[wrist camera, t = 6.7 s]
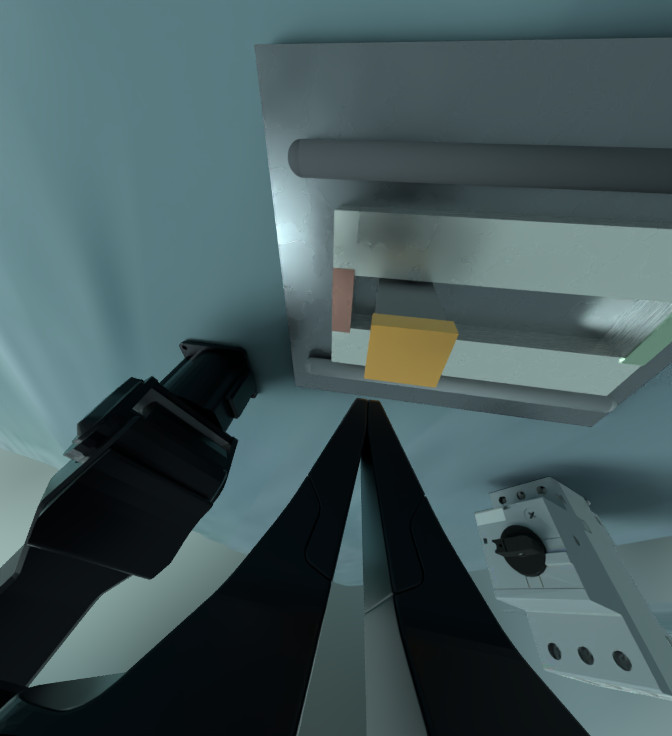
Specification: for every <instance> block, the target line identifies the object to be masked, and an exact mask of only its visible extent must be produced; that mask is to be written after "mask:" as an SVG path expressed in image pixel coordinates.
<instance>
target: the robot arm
mask: <svg viewBox="0 0 672 736" xmlns="http://www.w3.org/2000/svg"><path fill="white" fill-rule="evenodd" d="M179 346H180V349H181V351H182V353H183V355H184V357H185V359H184V360H183V361H182V362H181V363H180V364H178V365H177V366H176V367H175V368H174V369H173V370H172V371H171V372H170V373H169V374H168V375H167V376H166V377H165V378H164V379H163V380H162V381H161V382H160V383H159V382H158V380H157V379H155V378H154V377H153V376H151V377H150V378H148V379H146V380H145V381H143V380H142V379H141V380H140V379H136V378H133V377H131V378H129V379H128V380H127V381H126V382H124V383H123V384H122V385H121V386H119V387H118V388H117V389H116V390H115V391H114V392H112V393H111V394H110V395H109V396H108V397H106V398H105V399H104V400H103V401H102V402H101V403H100V404H99V405H97V406H96V407H95V408H94V409H93V410H92V411H91V412H90V413H89V414H88V415H86V416H85V417H84V418H83V419H82V420H81V421H80V422H79V423H78V424H77V436H76V437H75V438H74V439H73V441H72V442H73V444H72V445H71V446H70V447H69V448H68V449H67V450H66V451H65V452H64V454H63V455H64V456H66V457H68V458H70V459H72V460H70V461H69V462H68V463H67V464H66V465H65V466H64V467H63V468H62V469H61V470H59V471H58V472H57V473H56V474H55V475H54V476H53V477H52V478H51V480H50V482H49V484H48V486H47V488H46V490H45V493H44V494H43V497H42V499H41V501H40V504H39V506H38V508H37V511H36V513H35V516H34V519H33V522H32V524H31V527H30V530H29V533H28V536H27V538H26V541H25V544H24V545H23V546H22V547H21V548H20V549H19V550H18V551H17V552H16V553H15V554H14V555H13V556H12V557H11V558H10V559H9V560H8V561H7V562H6V563H5V564H4V565H3V566H2V567H1V568H0V736H298V734H299V729H300V725H301V720H302V715H303V710H304V706H305V702H306V697H307V692H308V689H309V684H310V680H311V675H312V671H313V666H314V662H315V658H316V653H317V649H318V644H319V640H320V635H321V631H322V626H323V622H324V618H325V613H326V609H327V604H328V600H329V596H330V591H331V587H332V582H333V578H334V574H335V569H336V565H337V560H338V556H339V552H340V547H341V543H342V538H343V534H344V529H345V525H346V521H347V516H348V512H349V507H350V503H351V498H352V494H353V490H354V485H355V481H356V476H357V472H358V467H359V463H360V458H361V503H362V546H363V587H364V614H365V615H364V631H365V632H364V633H365V673H366V674H365V675H366V719H367V736H590V735H589V733H587V731H586V730H585V729H584V728H583V727H582V725H581V724H580V723H579V722H578V721H577V720H576V719H575V717H574V716H573V715H572V714H571V713H570V712H569V711H568V709H567V708H566V707H565V706H564V705H563V704H562V703H561V701H560V700H559V699H558V698H557V697H556V696H555V694H554V693H553V692H552V691H551V690H550V689H549V687H548V686H547V685H546V684H545V683H544V682H543V681H542V679H541V678H540V677H539V676H538V675H537V674H536V672H535V671H534V670H533V669H532V668H531V667H530V665H529V664H528V663H527V662H526V660H524V658H523V657H522V656H521V654H520V653H519V652H518V650H517V649H516V648H515V646H514V645H513V644H512V642H511V641H510V639H509V638H508V636H507V635H506V633H505V632H504V631H503V629H502V628H501V626H500V624H499V623H498V621H497V620H496V618H495V616H494V615H493V613H492V611H491V610H490V608H489V606H488V605H487V603H486V601H485V600H484V598H483V597H482V595H481V593H480V592H479V590H478V588H477V587H476V585H475V583H474V582H473V580H472V578H471V577H470V575H469V573H468V572H467V570H466V568H465V567H464V565H463V563H462V562H461V560H460V558H459V557H458V555H457V553H456V552H455V550H454V548H453V546H452V545H451V543H450V541H449V539H448V538H447V536H446V534H445V533H444V531H443V529H442V527H441V525H440V523H439V521H438V519H437V517H436V515H435V513H434V511H433V509H432V507H431V505H430V503H429V501H428V499H427V497H426V496H424V495H425V493H424V491H423V489H422V487H421V485H420V483H419V481H418V479H417V477H416V475H415V473H414V470H413V468H412V466H411V464H410V462H409V460H408V458H407V456H406V454H405V452H404V450H403V448H402V446H401V444H400V442H399V440H398V437H397V435H396V433H395V431H394V429H393V427H392V425H391V423H390V421H389V419H388V417H387V415H386V413H385V411H384V409H383V407H382V404H381V403H380V402H379V401H376V400H367V399H362V398H356V399H355V401H354V402H353V404H352V406H351V407H350V409H349V410H348V412H347V414H346V415H345V417H344V418H343V420H342V421H341V423H340V425H339V426H338V428H337V429H336V431H335V433H334V434H333V436H332V437H331V439H330V440H329V442H328V444H327V445H326V447H325V448H324V450H323V452H322V453H321V455H320V456H319V458H318V459H317V461H316V463H315V464H314V466H313V467H312V469H311V471H310V472H309V474H308V476H307V477H306V478H305V480H304V481H303V483H302V485H301V486H300V488H299V489H298V491H297V492H296V494H295V495H294V497H293V498H292V499H291V501H290V502H289V504H288V505H287V506H286V508H285V509H284V510H283V512H282V513H281V514H280V516H279V517H278V518H277V520H276V521H275V522H274V523H273V525H272V526H271V527H270V528H269V530H268V531H267V532H266V533H265V534H264V536H263V537H262V538H261V539H260V541H259V542H258V543H257V544H256V546H255V547H254V548H253V549H252V551H251V552H250V553H249V554H248V555H247V557H246V558H245V559H244V560H243V562H242V563H241V564H240V565H239V566H238V568H237V569H236V570H235V571H234V572H233V574H232V575H231V576H230V577H229V578H228V579H227V580H226V581H225V582H224V583H223V584H222V585H221V586H220V588H219V589H218V590H217V591H216V592H215V593H214V594H213V595H212V596H210V597H209V598H208V599H207V600H206V601H205V602H204V603H203V604H202V605H200V606H199V607H198V608H197V609H196V610H195V611H194V612H193V613H191V614H190V615H189V616H188V617H187V618H186V619H185V620H184V621H183V622H181V623H180V624H179V625H178V626H177V627H176V628H175V629H174V630H173V631H171V632H170V633H169V634H168V635H167V636H166V637H165V638H164V639H163V640H161V641H160V642H159V643H158V644H157V645H156V646H155V647H154V648H153V649H151V650H150V651H149V652H148V653H147V654H146V655H145V656H144V657H143V658H142V659H140V660H139V661H138V662H137V663H136V664H135V665H134V666H133V667H131V669H129V670H128V671H127V672H126V673H120V674H112V675H105V676H98V677H92V678H85V679H77V680H71V681H63V682H56V683H50V684H44V685H38V686H34V687H30V688H29V687H28V686H29V685H30V684H31V683H32V681H33V680H34V679H35V678H36V676H37V675H38V674H39V672H40V671H41V670H42V669H43V667H44V666H45V665H46V664H47V662H48V661H49V660H50V659H51V657H52V656H53V655H54V653H55V652H56V651H57V650H58V649H59V647H60V646H61V645H62V643H63V642H64V641H65V640H66V638H67V637H68V636H69V635H70V633H71V632H72V631H73V630H74V628H75V627H76V626H77V625H78V623H79V622H80V621H81V620H82V618H83V617H84V616H85V615H86V613H87V612H88V611H89V610H90V608H91V607H92V606H93V605H94V604H95V602H96V601H97V600H98V599H99V598H100V597H101V596H102V595H103V594H104V593H106V592H107V591H109V590H110V589H112V588H113V587H115V586H117V585H118V584H120V583H121V582H123V581H124V580H126V579H127V578H129V577H131V576H132V575H135V576H138V577H142V578H145V579H152V578H154V577H155V576H156V575H157V574H158V573H160V572H161V571H162V570H163V569H164V568H166V567H167V566H168V565H169V564H170V563H171V561H172V560H173V558H174V557H175V555H176V554H177V552H178V550H179V549H180V547H181V546H182V544H183V542H184V541H185V539H186V538H187V536H188V535H189V533H190V532H191V530H192V529H193V528H194V527H195V525H196V524H197V523H198V522H199V520H200V519H201V518H202V517H203V516H204V515H205V514H206V513H207V512H208V511H209V510H210V509H211V507H212V506H213V503H214V502H215V500H216V499H217V498H218V496H219V495H220V493H221V492H222V490H223V488H224V486H225V483H226V480H227V477H228V474H229V470H230V467H231V463H232V460H233V456H234V453H235V449H236V446H237V443H238V440H237V439H236V438H235V437H231V436H230V435H229V434H227V433H226V430H227V429H228V427H229V425H230V424H231V422H232V420H233V419H234V418H235V419H237V418H239V417H240V415H241V413H242V412H243V410H244V408H245V407H246V405H247V403H248V401H249V400H250V398H255V397H256V396H257V389H256V384H255V380H254V376H253V373H252V370H251V368H250V364H249V361H248V357H247V353H246V351H245V350H244V349H242V348H238V347H230V346H222V345H213V344H205V343H197V342H189V341H183V342H182V343H180V345H179ZM240 353H241V354H240ZM132 408H133V409H132ZM134 409H135V410H136V411H135V410H134ZM137 411H138V412H137Z"/></svg>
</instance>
